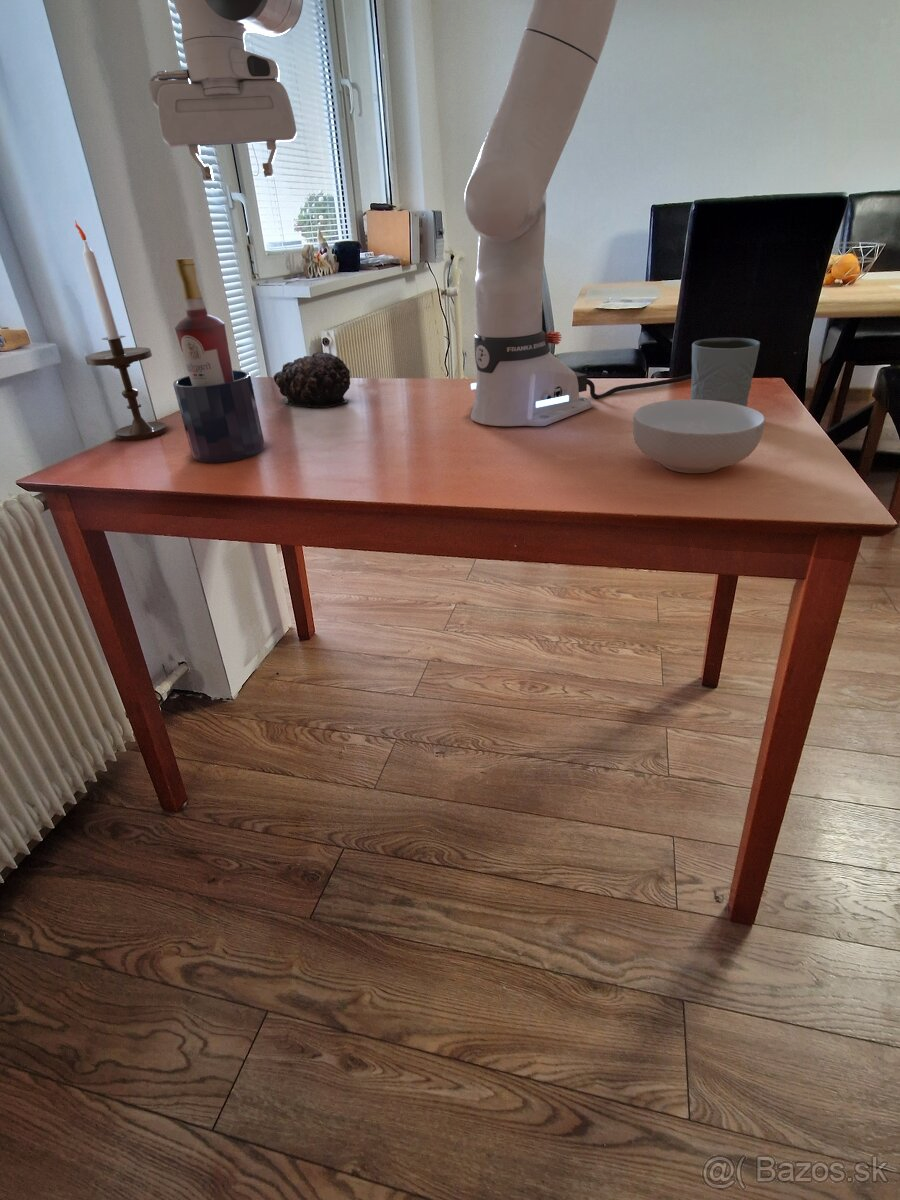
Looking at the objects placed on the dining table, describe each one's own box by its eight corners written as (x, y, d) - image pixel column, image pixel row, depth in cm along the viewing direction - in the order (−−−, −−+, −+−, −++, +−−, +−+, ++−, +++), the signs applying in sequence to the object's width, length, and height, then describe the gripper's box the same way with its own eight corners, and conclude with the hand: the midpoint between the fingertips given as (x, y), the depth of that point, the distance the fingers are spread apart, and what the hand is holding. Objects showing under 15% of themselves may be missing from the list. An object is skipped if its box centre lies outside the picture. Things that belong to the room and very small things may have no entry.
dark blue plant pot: (251, 436, 119) (236, 366, 113) (275, 451, 111) (260, 377, 104) (184, 451, 114) (165, 379, 108) (204, 468, 105) (184, 390, 99)
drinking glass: (727, 430, 105) (739, 350, 99) (671, 419, 112) (679, 344, 106) (759, 415, 111) (772, 339, 105) (704, 406, 118) (713, 334, 112)
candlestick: (98, 439, 124) (26, 223, 106) (145, 423, 132) (85, 220, 114) (138, 444, 119) (70, 219, 101) (184, 427, 127) (128, 216, 110)
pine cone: (289, 395, 145) (281, 347, 140) (361, 398, 139) (355, 347, 134) (261, 408, 137) (251, 357, 132) (336, 411, 131) (328, 358, 125)
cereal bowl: (692, 496, 84) (699, 440, 80) (605, 461, 96) (607, 412, 93) (784, 467, 90) (795, 414, 87) (691, 438, 103) (697, 392, 99)
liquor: (258, 439, 114) (219, 255, 99) (234, 453, 108) (189, 259, 93) (222, 438, 116) (179, 257, 102) (196, 451, 110) (146, 261, 96)
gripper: (141, 67, 95) (168, 181, 102) (287, 61, 98) (303, 173, 105) (149, 75, 100) (174, 183, 107) (286, 70, 103) (302, 175, 110)
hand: (239, 178), depth 106 cm, fingers open, 8 cm apart
